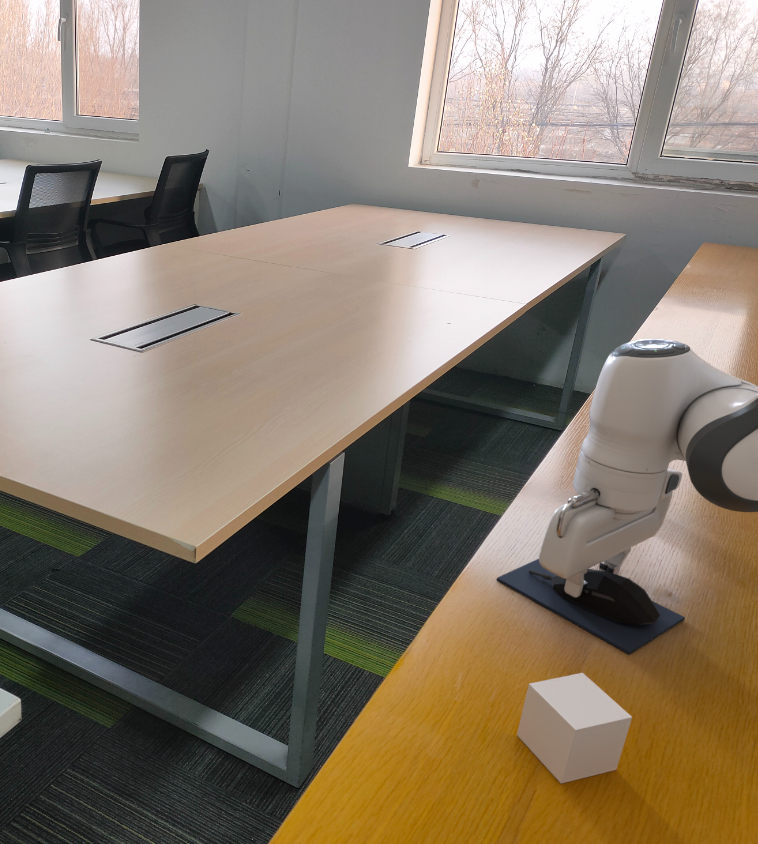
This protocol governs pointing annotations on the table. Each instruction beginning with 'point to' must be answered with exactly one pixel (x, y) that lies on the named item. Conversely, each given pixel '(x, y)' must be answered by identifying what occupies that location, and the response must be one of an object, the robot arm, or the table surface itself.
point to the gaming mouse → (610, 597)
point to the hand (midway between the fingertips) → (590, 584)
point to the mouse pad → (587, 611)
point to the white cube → (573, 727)
